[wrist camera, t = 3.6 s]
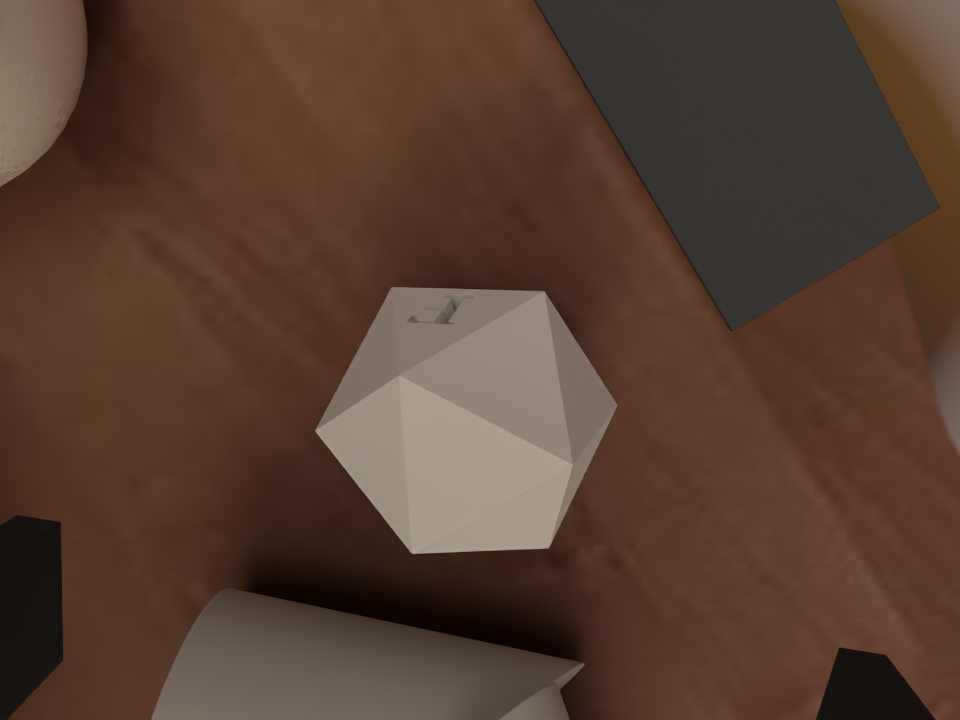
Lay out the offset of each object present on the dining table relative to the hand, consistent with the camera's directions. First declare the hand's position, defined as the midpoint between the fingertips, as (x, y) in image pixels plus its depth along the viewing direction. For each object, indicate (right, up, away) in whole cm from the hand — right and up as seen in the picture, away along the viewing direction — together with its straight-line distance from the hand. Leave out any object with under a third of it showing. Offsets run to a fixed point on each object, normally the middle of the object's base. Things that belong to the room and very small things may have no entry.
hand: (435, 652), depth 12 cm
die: (+1, +4, +15) cm, 16 cm away
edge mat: (+8, +16, +11) cm, 21 cm away
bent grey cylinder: (-1, -12, +19) cm, 23 cm away
